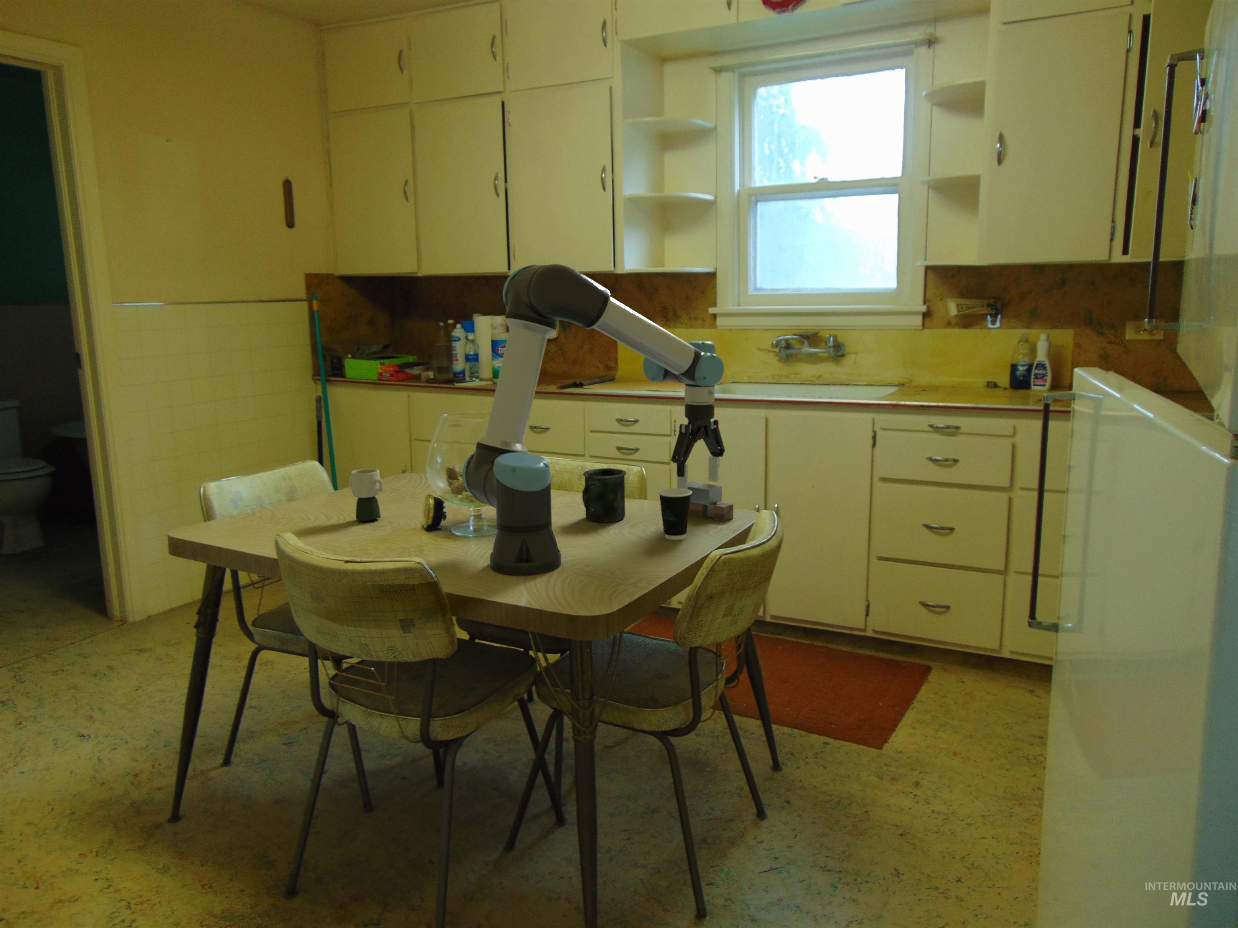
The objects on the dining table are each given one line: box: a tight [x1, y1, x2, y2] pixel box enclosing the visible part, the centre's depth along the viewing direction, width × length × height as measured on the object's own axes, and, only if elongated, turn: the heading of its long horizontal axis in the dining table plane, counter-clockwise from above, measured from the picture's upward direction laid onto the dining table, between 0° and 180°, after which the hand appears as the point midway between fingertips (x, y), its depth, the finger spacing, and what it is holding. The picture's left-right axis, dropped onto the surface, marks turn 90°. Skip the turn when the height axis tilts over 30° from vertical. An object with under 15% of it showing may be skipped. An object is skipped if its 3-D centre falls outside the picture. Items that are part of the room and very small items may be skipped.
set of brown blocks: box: [689, 501, 734, 522], centre depth 231 cm, size 4×18×4 cm, turn 49°
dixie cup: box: [657, 487, 692, 541], centre depth 210 cm, size 8×8×11 cm
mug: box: [581, 467, 627, 523], centre depth 227 cm, size 11×15×12 cm
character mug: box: [348, 468, 384, 522], centre depth 231 cm, size 11×7×13 cm, turn 64°
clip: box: [688, 481, 723, 518], centre depth 231 cm, size 10×6×8 cm, turn 49°
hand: (698, 485), depth 230 cm, fingers open, 13 cm apart
